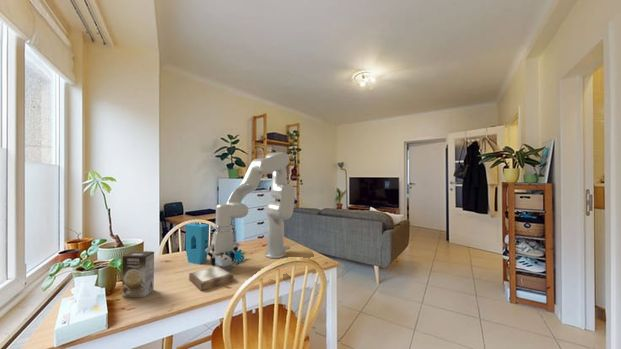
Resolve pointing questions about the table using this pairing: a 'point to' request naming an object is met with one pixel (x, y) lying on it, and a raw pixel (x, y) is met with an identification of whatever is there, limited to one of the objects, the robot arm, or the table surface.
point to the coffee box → (138, 274)
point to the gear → (237, 256)
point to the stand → (210, 278)
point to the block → (197, 242)
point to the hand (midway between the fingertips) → (222, 262)
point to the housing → (224, 262)
